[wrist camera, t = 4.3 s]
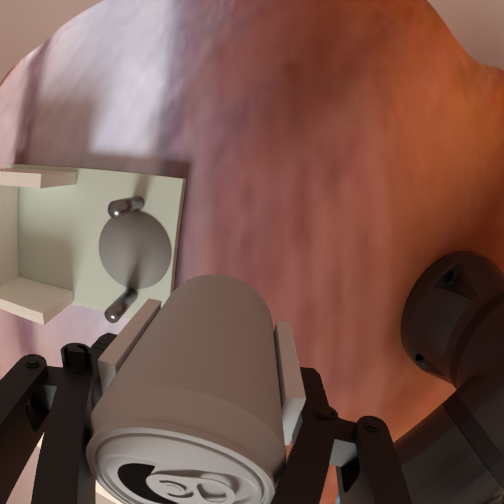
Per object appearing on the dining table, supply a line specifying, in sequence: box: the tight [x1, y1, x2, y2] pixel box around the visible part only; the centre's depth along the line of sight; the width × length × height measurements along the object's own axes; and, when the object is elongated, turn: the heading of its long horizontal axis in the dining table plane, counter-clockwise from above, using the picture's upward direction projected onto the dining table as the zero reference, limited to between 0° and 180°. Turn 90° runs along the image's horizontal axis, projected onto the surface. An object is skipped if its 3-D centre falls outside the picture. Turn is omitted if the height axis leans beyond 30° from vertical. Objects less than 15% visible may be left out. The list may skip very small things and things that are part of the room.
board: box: [6, 164, 186, 319], centre depth 29 cm, size 22×14×2 cm, turn 81°
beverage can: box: [86, 274, 286, 504], centre depth 12 cm, size 6×6×12 cm
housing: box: [0, 168, 77, 325], centre depth 25 cm, size 10×14×6 cm
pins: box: [105, 196, 145, 323], centre depth 26 cm, size 1×10×5 cm, turn 171°
